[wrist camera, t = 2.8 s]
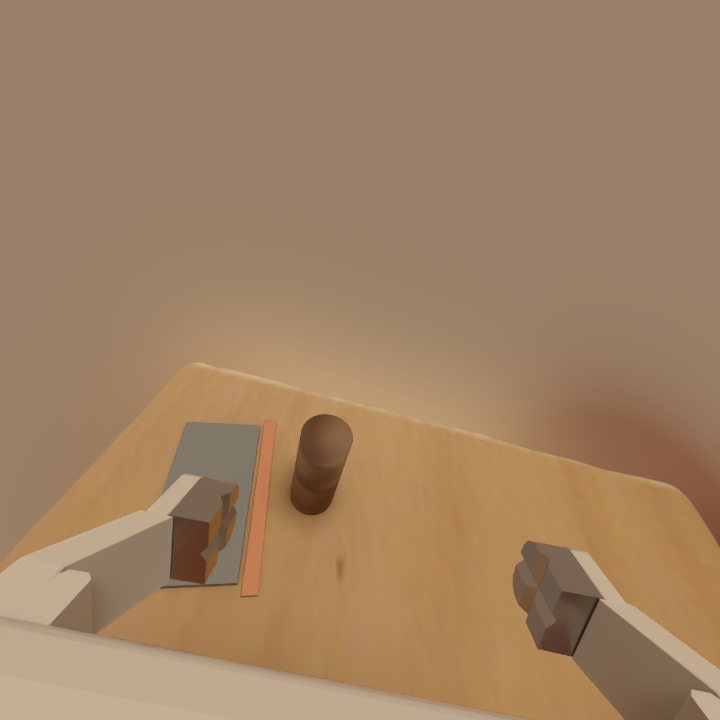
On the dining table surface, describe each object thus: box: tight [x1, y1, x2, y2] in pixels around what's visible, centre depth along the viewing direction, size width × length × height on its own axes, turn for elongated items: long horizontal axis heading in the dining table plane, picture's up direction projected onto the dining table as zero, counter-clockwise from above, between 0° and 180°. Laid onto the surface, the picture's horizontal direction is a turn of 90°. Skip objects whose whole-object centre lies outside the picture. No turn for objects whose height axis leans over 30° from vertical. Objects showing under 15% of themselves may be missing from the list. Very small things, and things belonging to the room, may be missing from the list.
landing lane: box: [161, 421, 276, 597], centre depth 38 cm, size 11×20×1 cm, turn 5°
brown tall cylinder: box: [291, 414, 353, 515], centre depth 36 cm, size 5×5×12 cm
